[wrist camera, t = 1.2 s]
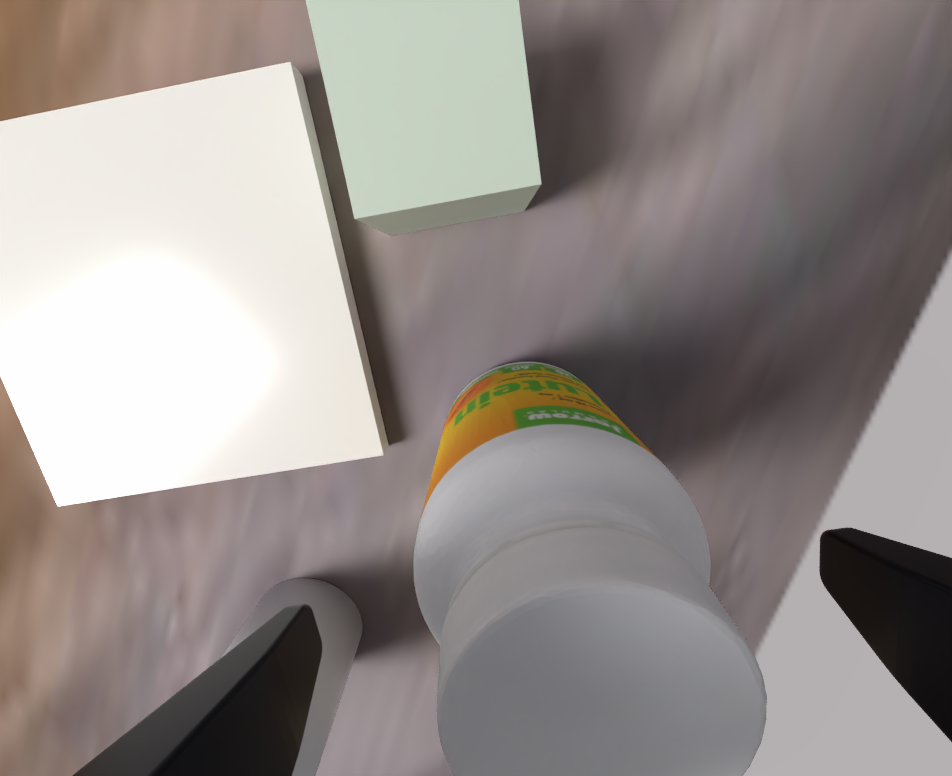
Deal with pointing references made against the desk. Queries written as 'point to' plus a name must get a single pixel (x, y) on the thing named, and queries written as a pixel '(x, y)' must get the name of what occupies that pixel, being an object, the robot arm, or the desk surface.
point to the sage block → (428, 109)
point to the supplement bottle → (574, 596)
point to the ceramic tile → (179, 291)
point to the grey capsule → (338, 652)
